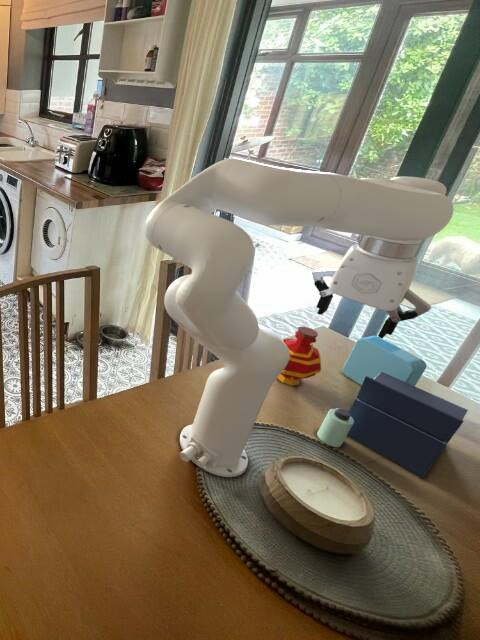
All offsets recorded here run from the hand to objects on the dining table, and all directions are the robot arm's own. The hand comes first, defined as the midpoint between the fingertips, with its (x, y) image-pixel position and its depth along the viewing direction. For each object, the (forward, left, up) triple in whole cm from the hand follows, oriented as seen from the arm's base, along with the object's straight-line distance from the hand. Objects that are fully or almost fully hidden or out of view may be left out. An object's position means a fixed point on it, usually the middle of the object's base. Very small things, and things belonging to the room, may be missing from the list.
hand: (350, 323), depth 82 cm
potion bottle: (+14, +9, -28) cm, 32 cm away
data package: (+29, -4, -28) cm, 40 cm away
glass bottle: (0, -5, -28) cm, 28 cm away
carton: (+12, -12, -28) cm, 32 cm away
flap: (+3, -12, -14) cm, 19 cm away
